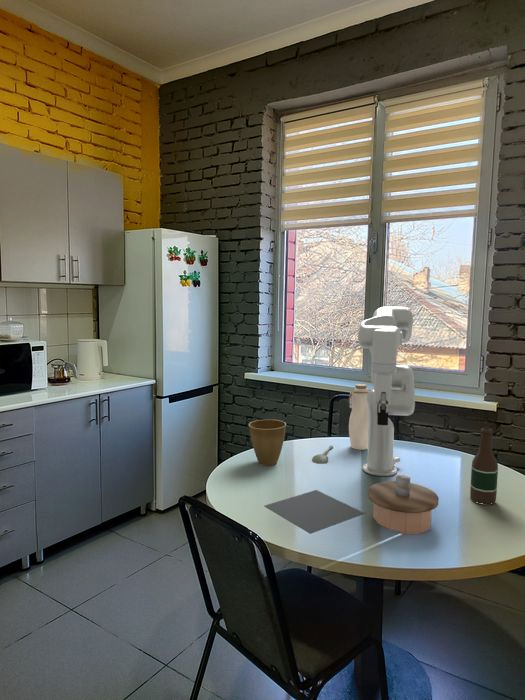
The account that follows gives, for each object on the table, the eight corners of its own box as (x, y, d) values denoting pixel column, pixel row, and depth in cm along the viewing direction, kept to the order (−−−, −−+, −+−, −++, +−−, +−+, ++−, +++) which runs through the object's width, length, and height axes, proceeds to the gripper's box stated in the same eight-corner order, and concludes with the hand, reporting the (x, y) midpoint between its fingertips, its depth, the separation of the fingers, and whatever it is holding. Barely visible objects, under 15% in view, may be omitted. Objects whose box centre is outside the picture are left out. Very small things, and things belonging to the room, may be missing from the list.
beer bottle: (494, 497, 159) (498, 426, 157) (497, 507, 152) (501, 433, 149) (469, 494, 162) (472, 424, 159) (470, 503, 154) (474, 430, 152)
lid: (396, 480, 156) (397, 461, 155) (452, 501, 139) (453, 480, 139) (353, 494, 144) (354, 474, 143) (409, 519, 128) (409, 497, 127)
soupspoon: (309, 465, 193) (325, 468, 191) (309, 457, 193) (325, 460, 190) (324, 447, 213) (339, 450, 211) (324, 440, 213) (339, 443, 210)
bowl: (397, 504, 153) (398, 483, 153) (441, 523, 140) (442, 500, 140) (362, 518, 144) (363, 495, 143) (406, 539, 131) (407, 515, 130)
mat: (316, 491, 164) (316, 489, 164) (364, 515, 146) (365, 513, 146) (263, 507, 151) (263, 505, 151) (310, 535, 133) (310, 533, 133)
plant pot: (269, 454, 203) (269, 417, 201) (293, 463, 191) (293, 424, 190) (241, 461, 193) (241, 423, 192) (264, 472, 182) (264, 430, 180)
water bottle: (355, 451, 207) (357, 387, 204) (342, 446, 215) (344, 384, 212) (374, 448, 211) (375, 385, 208) (361, 443, 219) (362, 382, 216)
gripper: (371, 363, 161) (370, 412, 164) (371, 372, 144) (370, 427, 147) (395, 363, 159) (393, 413, 162) (397, 373, 143) (395, 429, 145)
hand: (382, 420), depth 154 cm, fingers open, 9 cm apart
